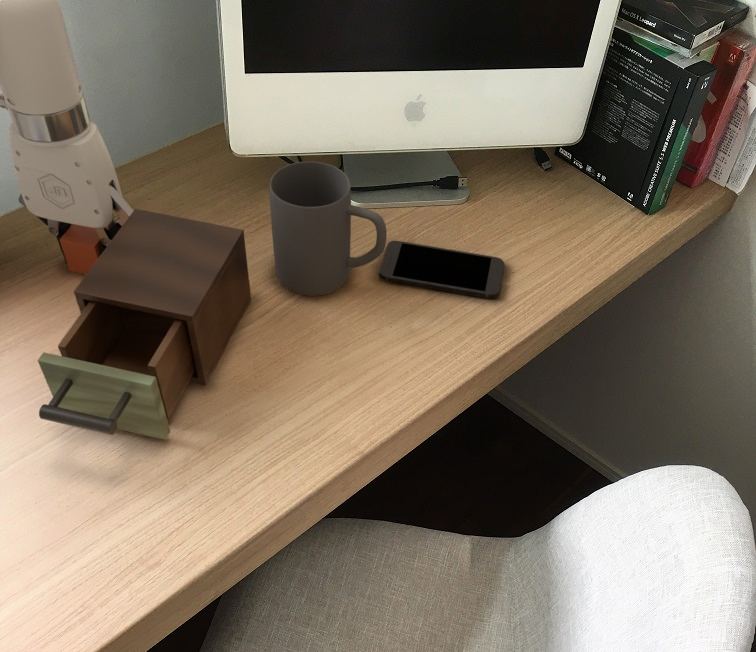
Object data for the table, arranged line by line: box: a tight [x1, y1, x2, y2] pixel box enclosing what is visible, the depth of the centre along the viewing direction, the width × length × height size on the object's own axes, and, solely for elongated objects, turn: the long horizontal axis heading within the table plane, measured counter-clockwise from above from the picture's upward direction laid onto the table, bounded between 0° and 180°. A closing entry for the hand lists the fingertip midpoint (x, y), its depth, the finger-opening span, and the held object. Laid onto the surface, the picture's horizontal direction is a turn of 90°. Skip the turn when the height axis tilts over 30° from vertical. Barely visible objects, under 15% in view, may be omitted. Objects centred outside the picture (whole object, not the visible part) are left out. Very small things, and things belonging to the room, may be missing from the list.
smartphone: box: [378, 240, 506, 299], centre depth 97 cm, size 7×15×1 cm, turn 79°
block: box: [60, 224, 108, 275], centre depth 94 cm, size 4×4×4 cm
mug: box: [269, 161, 388, 297], centre depth 91 cm, size 14×9×12 cm
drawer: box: [37, 301, 196, 441], centre depth 78 cm, size 18×11×8 cm, turn 166°
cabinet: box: [73, 208, 252, 386], centre depth 85 cm, size 15×13×10 cm
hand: (94, 260), depth 95 cm, fingers closed on block, 4 cm apart
